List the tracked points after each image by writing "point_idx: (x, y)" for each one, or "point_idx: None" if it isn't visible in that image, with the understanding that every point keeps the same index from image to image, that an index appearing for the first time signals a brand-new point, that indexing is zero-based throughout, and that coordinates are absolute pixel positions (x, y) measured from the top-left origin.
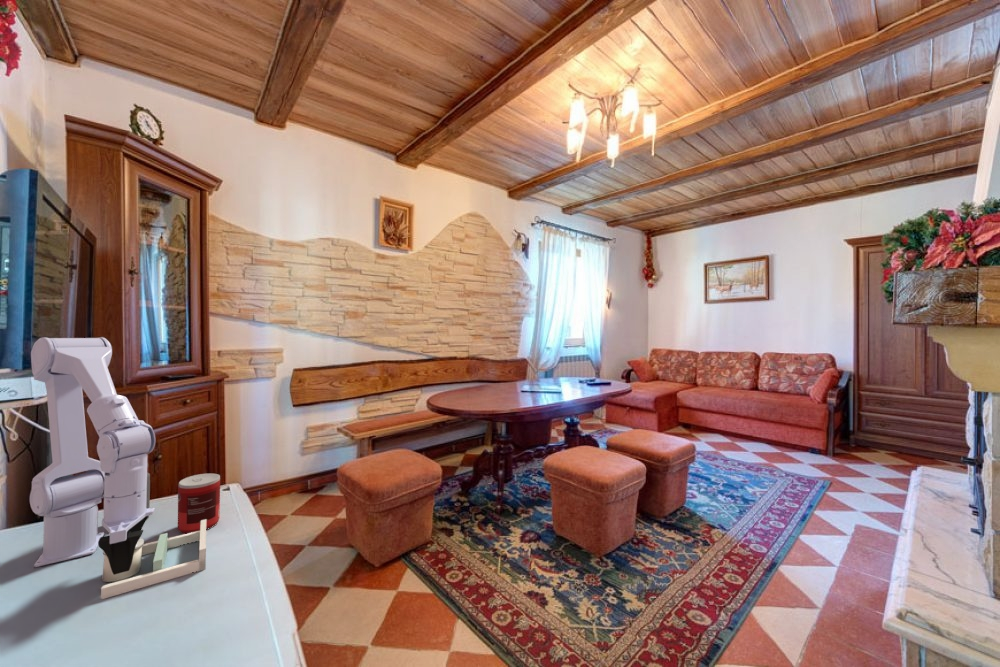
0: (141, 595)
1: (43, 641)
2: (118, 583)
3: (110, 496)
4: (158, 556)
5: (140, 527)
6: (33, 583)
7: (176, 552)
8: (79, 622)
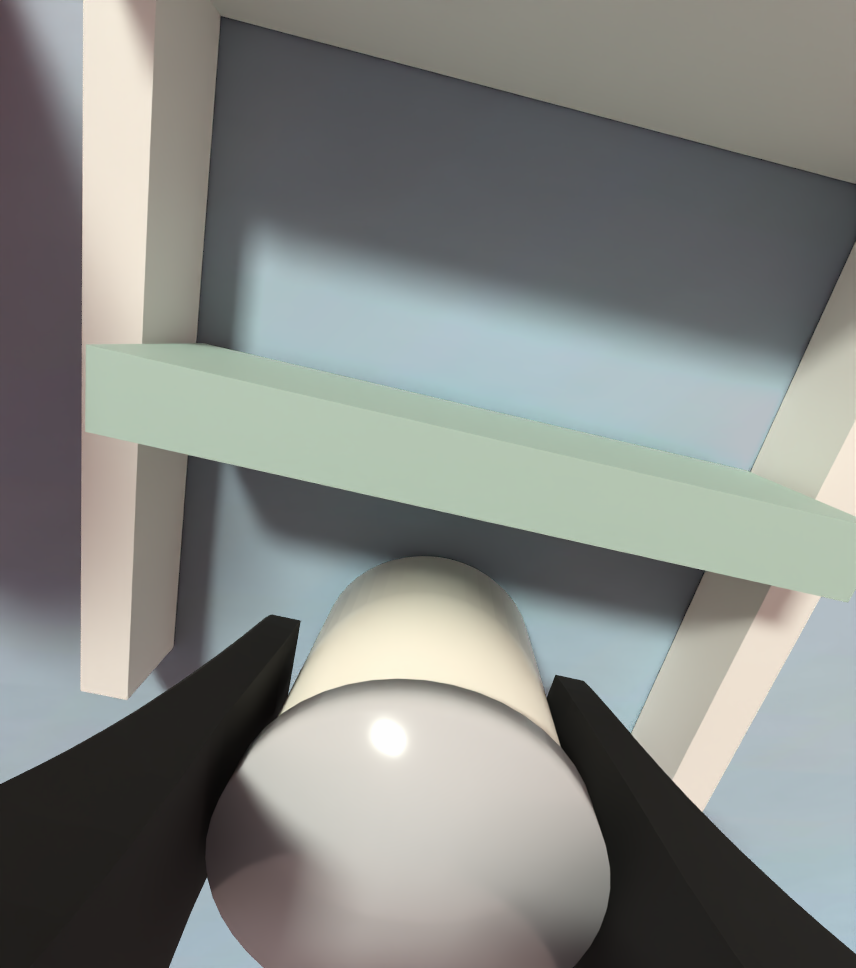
0: (852, 596)
1: (834, 912)
2: (733, 745)
3: None
4: (761, 544)
5: (117, 873)
6: None
7: (337, 288)
8: (816, 824)
